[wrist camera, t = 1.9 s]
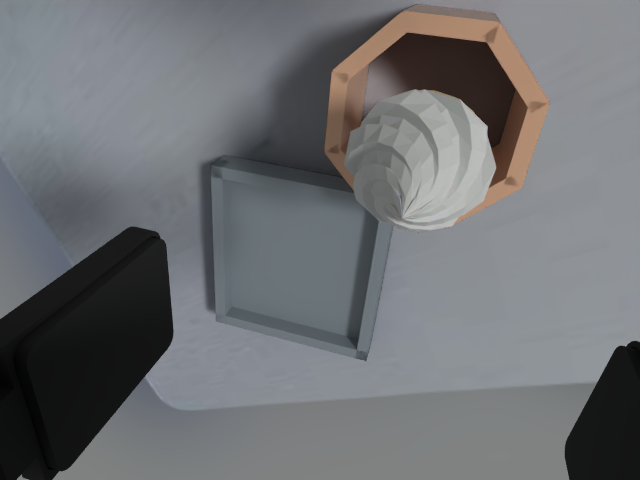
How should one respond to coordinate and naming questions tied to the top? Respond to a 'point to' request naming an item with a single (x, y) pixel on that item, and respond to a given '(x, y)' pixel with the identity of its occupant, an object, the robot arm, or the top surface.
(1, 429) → the robot arm
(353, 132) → the ice cream cone
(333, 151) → the holder cup
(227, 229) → the slate tray
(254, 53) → the top surface
